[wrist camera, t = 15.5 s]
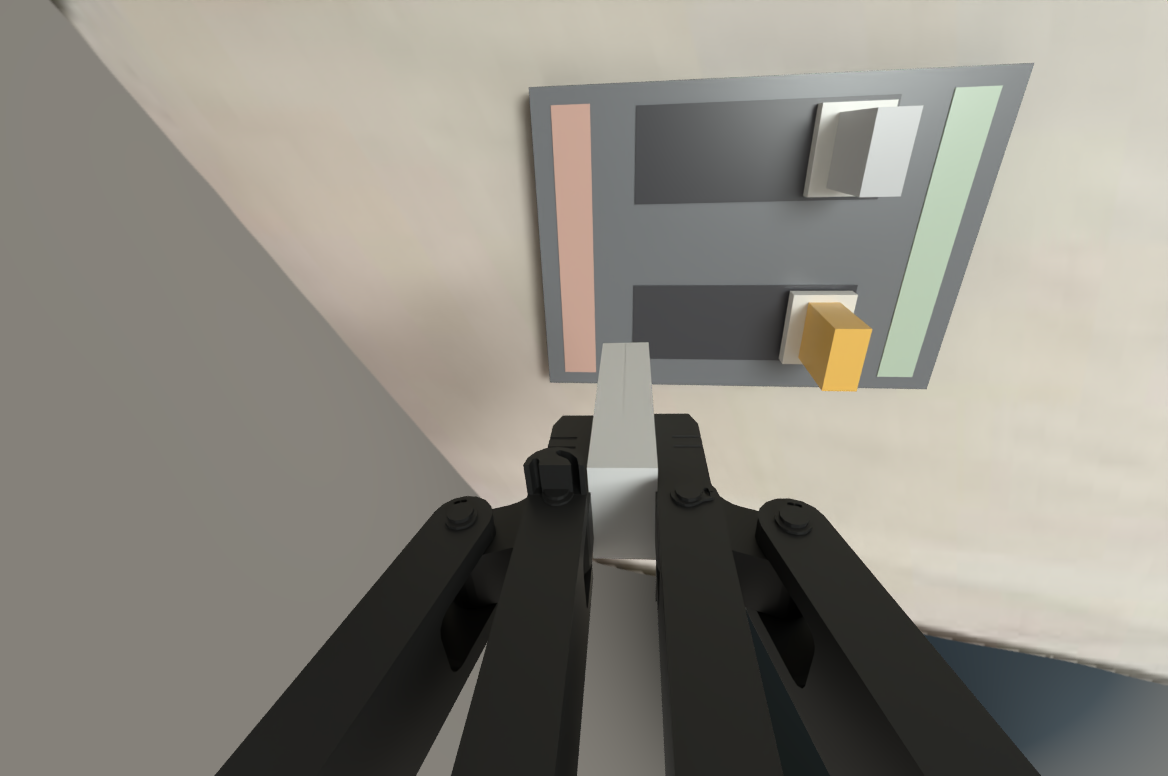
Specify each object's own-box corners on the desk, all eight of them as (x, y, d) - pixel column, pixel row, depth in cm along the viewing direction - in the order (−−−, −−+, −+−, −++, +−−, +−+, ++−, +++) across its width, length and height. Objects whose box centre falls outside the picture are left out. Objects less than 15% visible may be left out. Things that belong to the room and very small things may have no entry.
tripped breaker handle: (790, 290, 33) (818, 320, 27) (852, 290, 32) (893, 320, 27) (778, 358, 35) (803, 397, 30) (836, 358, 35) (871, 399, 29)
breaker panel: (536, 90, 31) (504, 76, 24) (1003, 68, 28) (1133, 44, 21) (554, 369, 41) (535, 421, 33) (909, 374, 38) (976, 433, 30)
